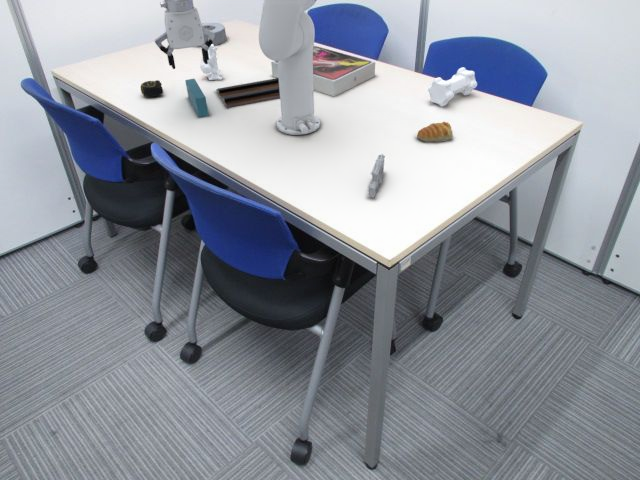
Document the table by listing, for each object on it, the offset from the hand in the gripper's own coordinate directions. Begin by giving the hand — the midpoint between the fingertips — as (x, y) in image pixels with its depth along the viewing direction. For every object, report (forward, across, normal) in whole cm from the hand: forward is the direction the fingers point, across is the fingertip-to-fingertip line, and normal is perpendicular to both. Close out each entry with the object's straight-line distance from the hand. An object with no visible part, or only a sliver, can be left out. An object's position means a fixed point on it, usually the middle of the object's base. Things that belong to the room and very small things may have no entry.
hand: (189, 65), depth 159 cm
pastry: (+12, +56, -50) cm, 76 cm away
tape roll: (+14, +17, +62) cm, 65 cm away
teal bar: (+13, 0, 0) cm, 13 cm away
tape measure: (+14, -11, +16) cm, 23 cm away
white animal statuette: (+14, +10, +20) cm, 27 cm away
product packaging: (+13, +45, +6) cm, 48 cm away
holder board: (+13, +19, +2) cm, 23 cm away
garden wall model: (+12, +30, -64) cm, 72 cm away
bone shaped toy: (+12, +74, -30) cm, 81 cm away
